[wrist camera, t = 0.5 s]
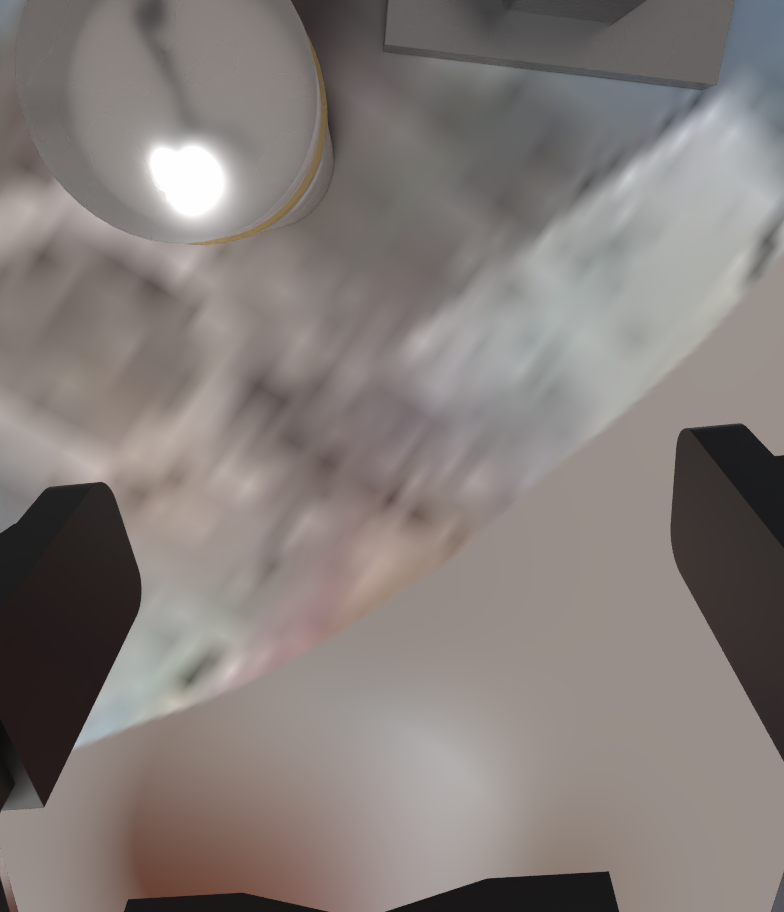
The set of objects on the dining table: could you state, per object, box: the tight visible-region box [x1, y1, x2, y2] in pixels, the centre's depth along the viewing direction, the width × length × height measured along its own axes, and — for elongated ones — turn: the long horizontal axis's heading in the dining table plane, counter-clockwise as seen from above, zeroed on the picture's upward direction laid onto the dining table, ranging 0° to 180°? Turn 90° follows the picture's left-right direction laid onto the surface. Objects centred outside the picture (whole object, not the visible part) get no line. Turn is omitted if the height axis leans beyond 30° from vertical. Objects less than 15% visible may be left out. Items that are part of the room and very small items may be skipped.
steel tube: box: [16, 0, 334, 245], centre depth 20 cm, size 5×5×16 cm
